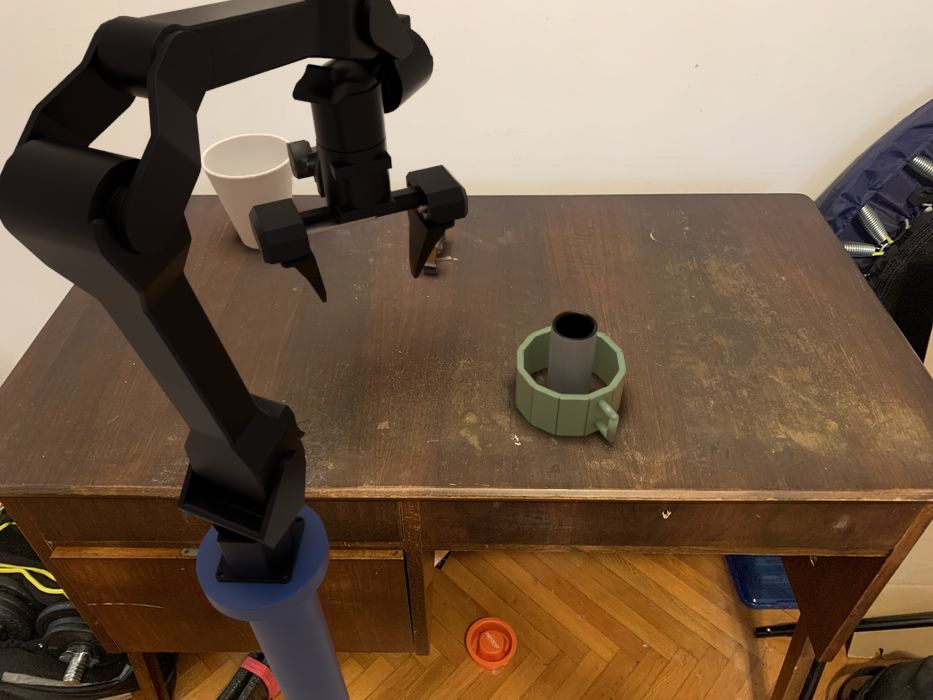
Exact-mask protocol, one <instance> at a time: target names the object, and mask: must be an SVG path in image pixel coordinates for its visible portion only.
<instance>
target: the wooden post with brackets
mask: <svg viewBox="0 0 933 700" xmlns="http://www.w3.org/2000/svg"><path fill="white" fill-rule="evenodd" d="M446 239H447V232H446V231H445V232H444V234H443V235H442V237H441V238H440V240H439V241H438V243H437V244H436V246H435V247H434V249H433V250H432V252H431V254H430V256H429V258H428V260H427V262H426V264H425V265H424V267H423V269H422V271H423V273H427V274H429V273H430V274H436V275H437V274H438V267H437V263H436V262H437V255H441V254H443V252H444V251H443V250H444V247H445V246H446V245H445V241H446Z"/></svg>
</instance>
